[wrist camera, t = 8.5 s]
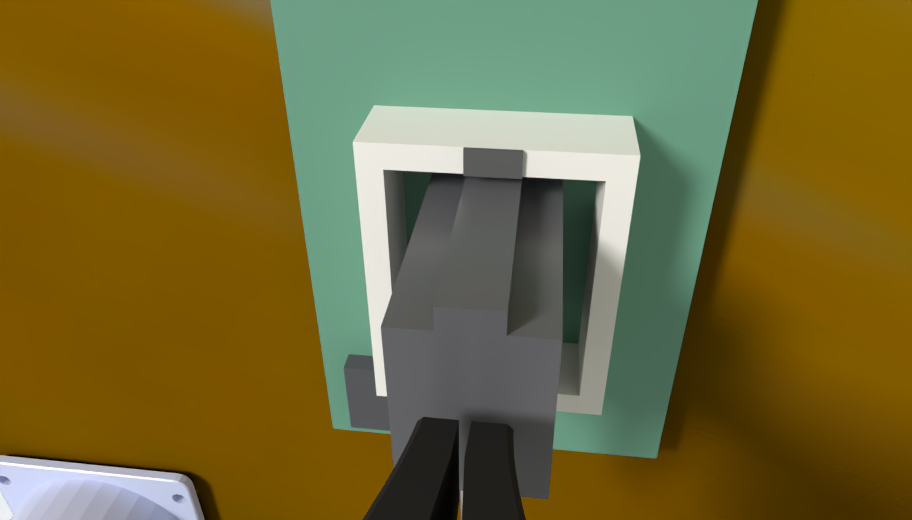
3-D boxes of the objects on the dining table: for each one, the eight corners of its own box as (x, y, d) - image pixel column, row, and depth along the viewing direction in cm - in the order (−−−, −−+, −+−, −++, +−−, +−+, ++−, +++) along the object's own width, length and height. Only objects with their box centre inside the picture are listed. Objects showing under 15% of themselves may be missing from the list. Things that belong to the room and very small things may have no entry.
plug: (545, 402, 21) (538, 599, 16) (442, 394, 21) (404, 583, 16) (564, 152, 16) (564, 315, 11) (433, 146, 17) (378, 303, 12)
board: (652, 433, 22) (664, 517, 20) (341, 405, 23) (314, 482, 21) (754, -45, 15) (794, -7, 12) (279, -53, 16) (223, -21, 13)
